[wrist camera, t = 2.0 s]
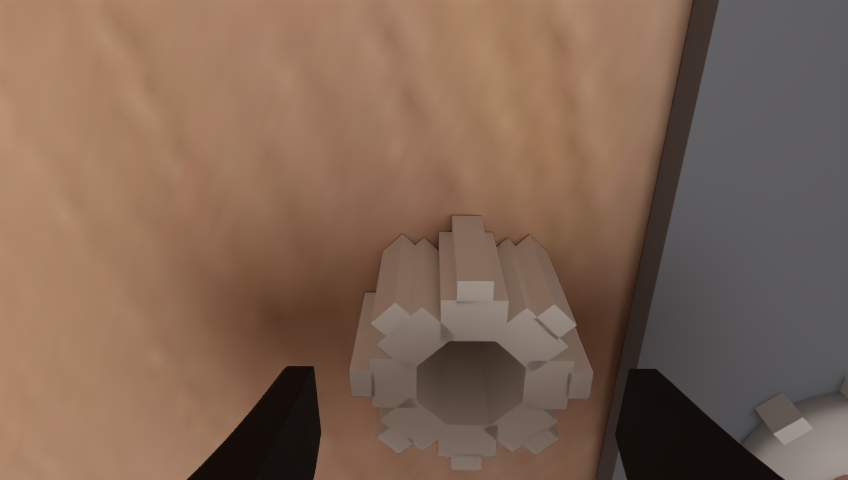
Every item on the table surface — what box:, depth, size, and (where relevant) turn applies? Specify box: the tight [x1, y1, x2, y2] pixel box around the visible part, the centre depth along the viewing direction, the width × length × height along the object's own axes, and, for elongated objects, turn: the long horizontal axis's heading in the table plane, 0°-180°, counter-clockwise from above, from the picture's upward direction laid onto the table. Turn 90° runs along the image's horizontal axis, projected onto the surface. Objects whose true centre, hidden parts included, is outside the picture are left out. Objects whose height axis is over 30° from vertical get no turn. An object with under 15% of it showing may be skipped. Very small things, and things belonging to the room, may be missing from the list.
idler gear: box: [349, 216, 593, 470], centre depth 15 cm, size 6×6×4 cm
